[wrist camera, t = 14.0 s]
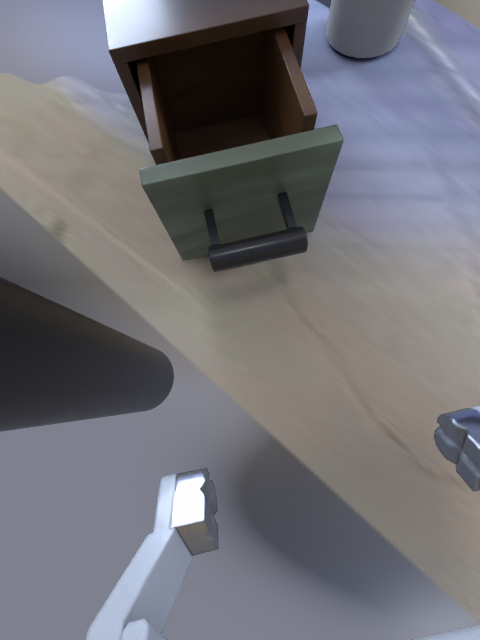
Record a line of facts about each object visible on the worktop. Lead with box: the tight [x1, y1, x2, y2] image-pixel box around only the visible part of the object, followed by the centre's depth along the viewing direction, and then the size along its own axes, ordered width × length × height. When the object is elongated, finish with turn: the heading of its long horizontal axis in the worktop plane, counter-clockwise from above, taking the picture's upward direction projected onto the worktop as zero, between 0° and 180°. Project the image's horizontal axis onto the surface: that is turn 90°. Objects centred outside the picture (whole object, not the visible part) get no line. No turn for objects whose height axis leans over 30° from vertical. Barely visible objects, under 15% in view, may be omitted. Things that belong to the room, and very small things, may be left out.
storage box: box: [103, 0, 309, 143], centre depth 24 cm, size 15×13×11 cm
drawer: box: [136, 27, 343, 272], centre depth 21 cm, size 18×11×9 cm, turn 12°
